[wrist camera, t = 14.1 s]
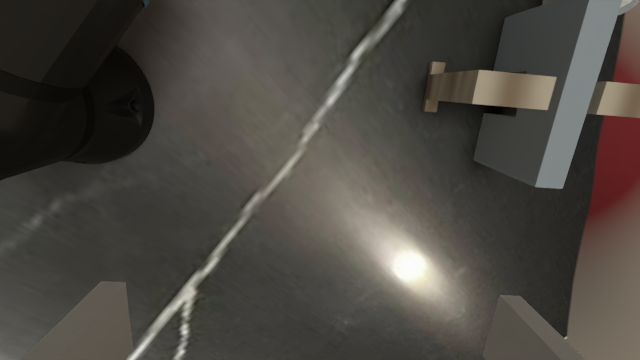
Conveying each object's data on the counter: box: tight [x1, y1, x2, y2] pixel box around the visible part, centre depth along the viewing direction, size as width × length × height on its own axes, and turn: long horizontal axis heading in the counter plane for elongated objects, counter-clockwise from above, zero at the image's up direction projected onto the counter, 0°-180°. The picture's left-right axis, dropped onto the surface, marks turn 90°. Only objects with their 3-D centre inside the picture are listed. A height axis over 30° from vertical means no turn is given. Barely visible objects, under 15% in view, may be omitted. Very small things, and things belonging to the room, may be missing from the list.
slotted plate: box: [473, 0, 622, 189], centre depth 35 cm, size 18×3×12 cm, turn 176°
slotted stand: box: [422, 62, 640, 118], centre depth 35 cm, size 20×6×12 cm, turn 85°
